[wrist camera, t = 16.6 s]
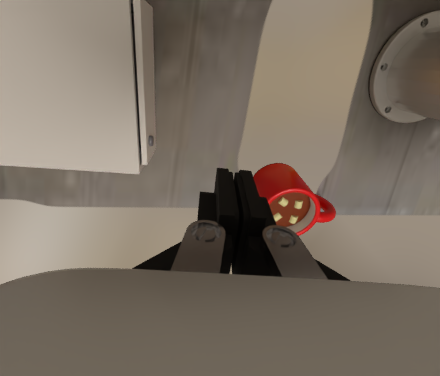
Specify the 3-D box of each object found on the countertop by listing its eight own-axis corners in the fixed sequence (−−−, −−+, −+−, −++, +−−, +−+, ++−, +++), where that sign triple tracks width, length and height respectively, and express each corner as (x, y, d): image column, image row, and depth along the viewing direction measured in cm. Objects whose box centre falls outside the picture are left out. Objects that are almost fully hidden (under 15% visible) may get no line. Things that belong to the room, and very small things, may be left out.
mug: (312, 213, 41) (335, 245, 34) (244, 204, 39) (253, 235, 32) (331, 171, 37) (360, 197, 30) (256, 159, 35) (270, 184, 28)
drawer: (156, 8, 26) (144, -5, 21) (159, 148, 33) (150, 165, 28) (-18, -16, 24) (-79, -36, 19) (26, 138, 31) (-9, 154, 26)
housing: (144, -7, 25) (126, -25, 19) (150, 154, 34) (139, 174, 28) (-33, -31, 24) (-112, -61, 18) (20, 144, 32) (-21, 164, 26)
